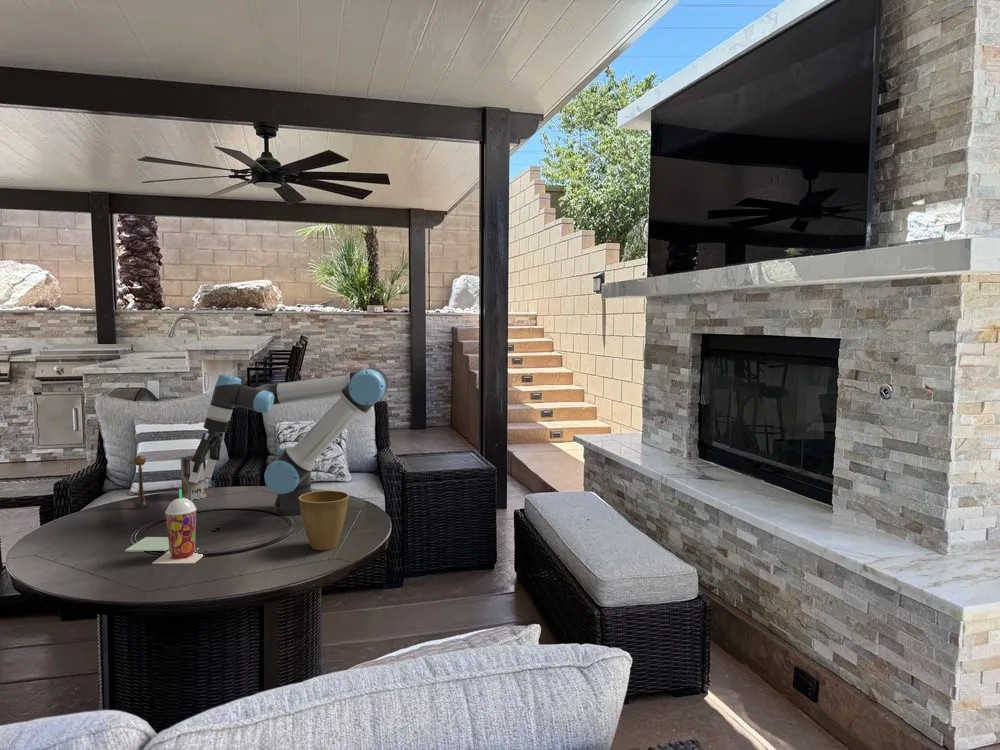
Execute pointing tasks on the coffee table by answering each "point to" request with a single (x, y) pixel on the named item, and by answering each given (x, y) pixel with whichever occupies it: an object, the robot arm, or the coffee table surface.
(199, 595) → the coffee table surface
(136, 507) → the wooden tabletop sculpture
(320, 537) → the plant pot
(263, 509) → the coffee table surface
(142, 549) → the coaster
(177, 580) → the coffee table surface
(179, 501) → the smoothie
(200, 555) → the tile
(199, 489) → the coffee box
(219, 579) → the coffee table surface
